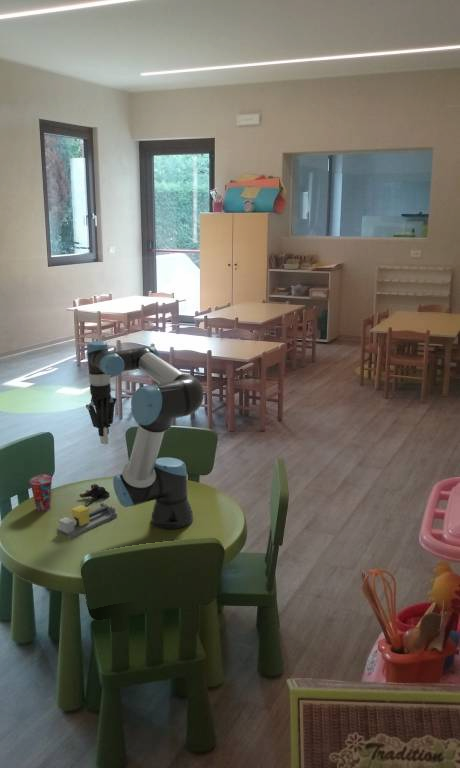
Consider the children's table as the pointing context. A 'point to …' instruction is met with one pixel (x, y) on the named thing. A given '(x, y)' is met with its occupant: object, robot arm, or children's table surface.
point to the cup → (42, 491)
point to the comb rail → (96, 518)
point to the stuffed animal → (95, 494)
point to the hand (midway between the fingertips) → (104, 443)
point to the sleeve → (81, 514)
